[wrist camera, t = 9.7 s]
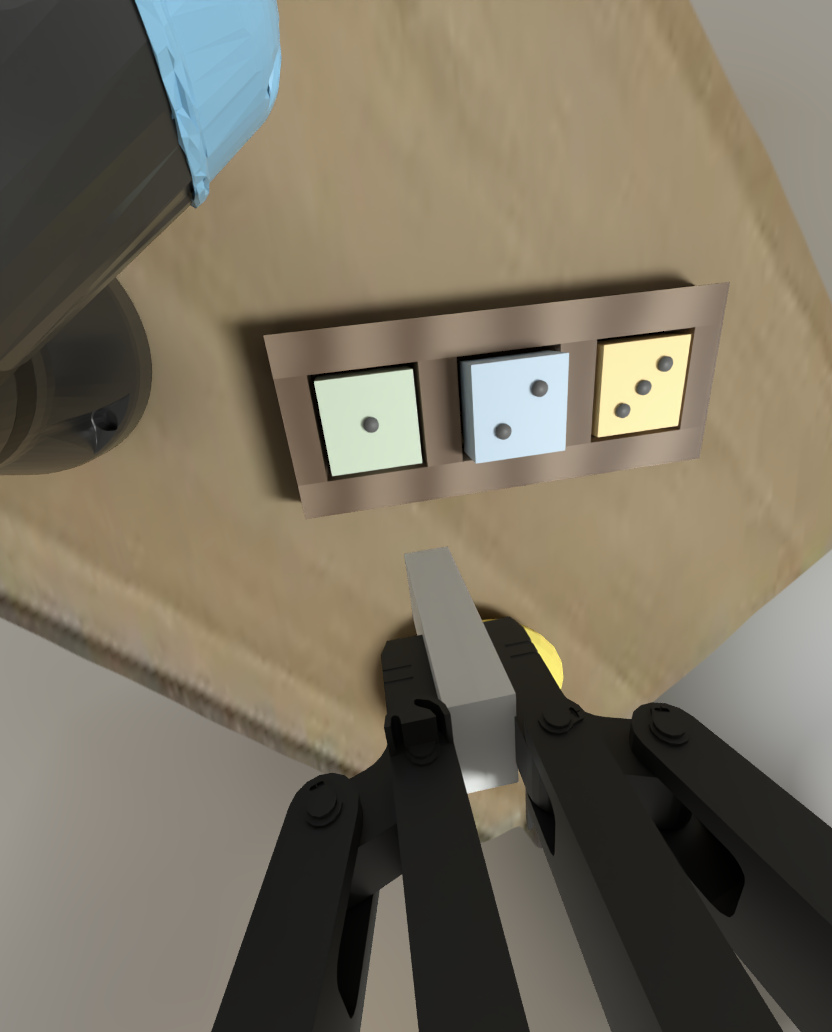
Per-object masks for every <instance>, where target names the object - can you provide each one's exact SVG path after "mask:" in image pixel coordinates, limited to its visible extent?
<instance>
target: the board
mask: <svg viewBox="0 0 832 1032" xmlns="http://www.w3.org/2000/svg"><path fill="white" fill-rule="evenodd" d="M729 284H730V282H727V283H717V284H708V285H699V286H690V287H681V288H672V289H664V290H655V291H646V292H637V293H629V294H620V295H611V296H602V297H594V298H585V299H576V300H567V301H559V302H550V303H541V304H532V305H524V306H515V307H506V308H497V309H489V310H480V311H471V312H462V313H454V314H445V315H436V316H427V317H419V318H410V319H401V320H392V321H384V322H375V323H366V324H357V325H349V326H340V327H331V328H322V329H314V330H305V331H296V332H287V333H279V334H270V335H263V336H264V341H265V345H266V349H267V354H268V358H269V362H270V367H271V371H272V375H273V380H274V384H275V389H276V393H277V397H278V402H279V406H280V410H281V415H282V419H283V423H284V428H285V432H286V436H287V441H288V445H289V449H290V454H291V458H292V462H293V467H294V471H295V475H296V480H297V484H298V489H299V493H300V497H301V502H302V506H303V510H304V515H305V519H310V518H317V517H323V516H329V515H336V514H342V513H349V512H355V511H362V510H368V509H375V508H381V507H388V506H394V505H401V504H407V503H413V502H420V501H426V500H433V499H439V498H446V497H452V496H459V495H465V494H472V493H478V492H485V491H491V490H497V489H504V488H510V487H517V486H523V485H530V484H536V483H543V482H549V481H556V480H562V479H569V478H575V477H582V476H588V475H594V474H601V473H607V472H614V471H620V470H627V469H633V468H640V467H646V466H653V465H659V464H666V463H672V462H678V461H685V460H691V459H698V458H700V452H701V446H702V441H703V435H704V429H705V423H706V417H707V412H708V406H709V400H710V394H711V388H712V383H713V377H714V371H715V365H716V359H717V354H718V348H719V342H720V336H721V330H722V325H723V319H724V313H725V307H726V301H727V296H728V290H729ZM660 331H665V333H666V334H691V340H690V347H689V354H688V360H687V367H686V374H685V381H684V388H683V395H682V401H681V408H680V415H679V422H678V426H672V427H666V428H659V429H652V430H645V431H638V432H631V433H625V434H618V435H611V436H604V437H596V436H593V435H591V428H592V412H593V397H594V381H595V365H596V350H597V339H603V338H611V337H619V336H628V335H636V334H644V333H652V332H660ZM539 346H542V351H546V350H551V351H559V352H567V353H569V370H568V396H567V421H566V446H565V451H558V452H551V453H544V454H538V455H531V456H524V457H517V458H511V459H504V460H497V461H490V462H484V463H477V464H476V463H475V462H474V461H473V460H472V459H471V458H470V457H469V456H468V455H467V454H466V453H465V452H464V449H462V440H461V424H460V407H459V391H458V375H457V358H456V357H458V356H466V355H474V354H482V353H490V352H498V351H506V350H515V349H523V348H531V347H539ZM410 362H412V369H413V376H414V386H415V396H416V406H417V416H418V426H419V435H420V445H421V455H422V463H419V464H413V465H406V466H399V467H392V468H385V469H378V470H372V471H365V472H358V473H351V474H344V475H337V476H332V473H331V468H329V467H328V462H327V457H326V452H325V446H324V441H323V436H322V431H321V426H320V421H319V416H318V411H317V405H316V400H315V395H314V390H313V385H312V380H311V375H313V374H321V373H329V372H337V371H345V370H353V369H361V368H369V367H377V366H385V365H393V364H402V363H410Z"/></svg>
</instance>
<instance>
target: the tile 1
mask: <svg viewBox="0 0 832 1032" xmlns="http://www.w3.org/2000/svg"><path fill="white" fill-rule="evenodd" d="M314 385H315V390H316V395H317V400H318V405H319V411H320V416H321V421H322V426H323V431H324V437H325V442H326V447H327V452H328V457H329V462H330V468H331V473H332V476H337V475H344V474H351V473H358V472H365V471H372V470H378V469H385V468H392V467H399V466H406V465H413V464H419V463H422V455H421V445H420V435H419V426H418V416H417V406H416V396H415V386H414V376H413V369H412V368H410V367H409V366H407V365H404V366H395V367H387V368H379V369H371V370H363V371H355V372H347V373H339V374H331V375H323V376H316V378H315V380H314Z"/></svg>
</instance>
